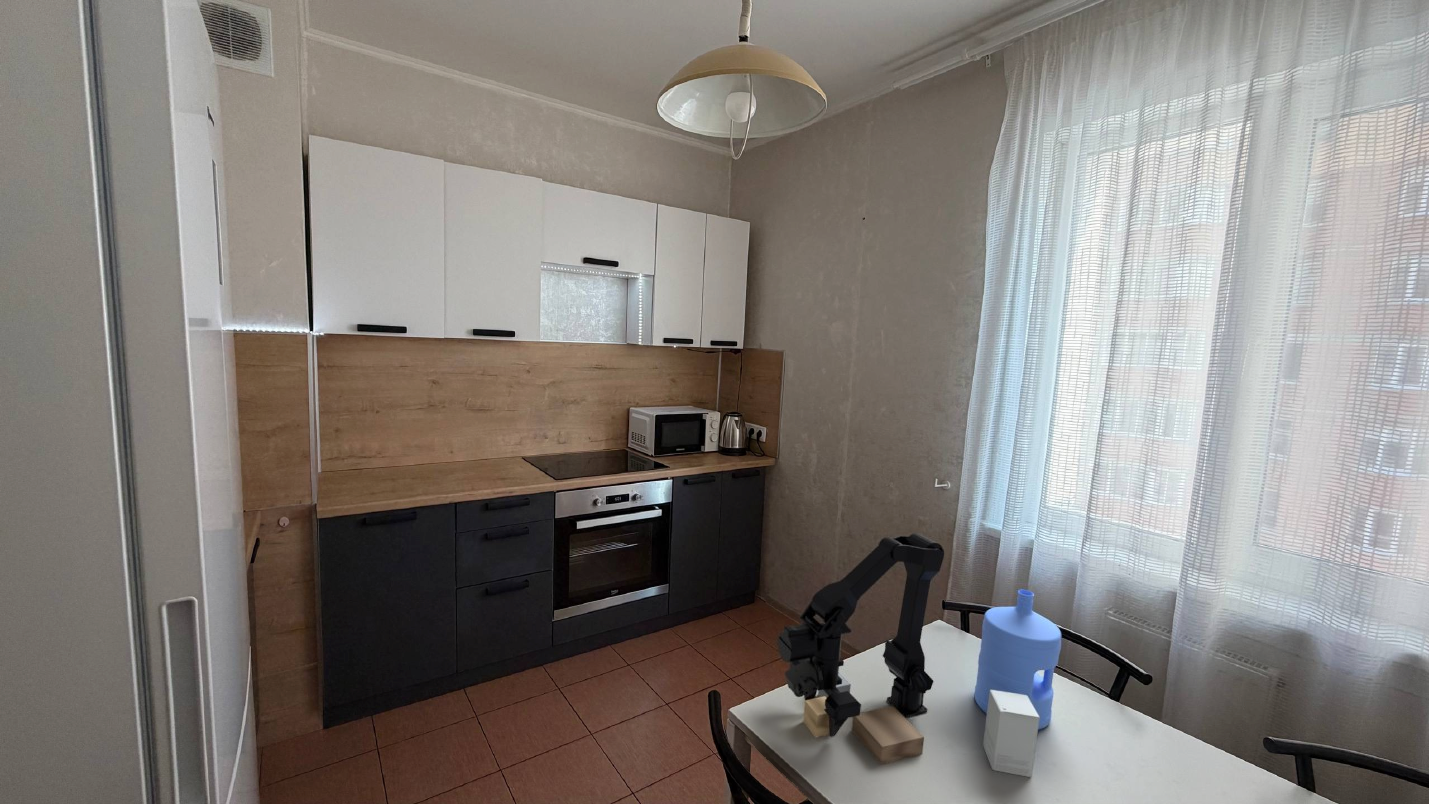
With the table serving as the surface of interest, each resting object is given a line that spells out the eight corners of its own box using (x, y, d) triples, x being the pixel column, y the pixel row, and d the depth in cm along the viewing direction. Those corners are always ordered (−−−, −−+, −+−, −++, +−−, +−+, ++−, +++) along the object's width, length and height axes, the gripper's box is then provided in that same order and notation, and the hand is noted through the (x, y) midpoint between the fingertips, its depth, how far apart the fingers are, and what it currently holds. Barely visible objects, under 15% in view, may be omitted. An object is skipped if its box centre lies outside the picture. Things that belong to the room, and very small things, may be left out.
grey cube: (836, 691, 134) (838, 671, 134) (848, 704, 130) (850, 684, 129) (817, 695, 132) (819, 675, 132) (829, 709, 128) (831, 688, 127)
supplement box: (1032, 778, 110) (1041, 718, 109) (991, 770, 112) (999, 710, 110) (1020, 751, 118) (1028, 694, 116) (981, 744, 119) (989, 688, 117)
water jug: (975, 719, 127) (989, 599, 123) (972, 680, 141) (985, 572, 138) (1055, 741, 121) (1073, 616, 118) (1044, 699, 136) (1059, 586, 132)
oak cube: (823, 717, 125) (825, 696, 124) (836, 732, 120) (838, 710, 120) (803, 722, 123) (805, 700, 122) (815, 737, 118) (817, 715, 118)
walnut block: (891, 722, 125) (892, 705, 124) (922, 755, 115) (924, 737, 115) (851, 731, 121) (853, 714, 121) (880, 765, 112) (882, 746, 111)
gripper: (771, 635, 125) (766, 701, 127) (816, 685, 108) (810, 761, 110) (815, 628, 129) (809, 692, 131) (865, 675, 112) (858, 748, 114)
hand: (820, 721), depth 121 cm, fingers open, 9 cm apart
